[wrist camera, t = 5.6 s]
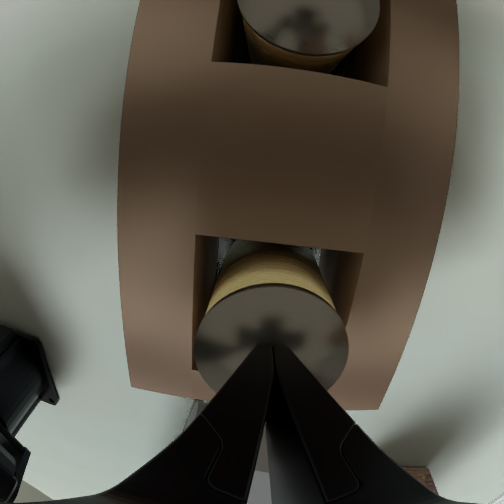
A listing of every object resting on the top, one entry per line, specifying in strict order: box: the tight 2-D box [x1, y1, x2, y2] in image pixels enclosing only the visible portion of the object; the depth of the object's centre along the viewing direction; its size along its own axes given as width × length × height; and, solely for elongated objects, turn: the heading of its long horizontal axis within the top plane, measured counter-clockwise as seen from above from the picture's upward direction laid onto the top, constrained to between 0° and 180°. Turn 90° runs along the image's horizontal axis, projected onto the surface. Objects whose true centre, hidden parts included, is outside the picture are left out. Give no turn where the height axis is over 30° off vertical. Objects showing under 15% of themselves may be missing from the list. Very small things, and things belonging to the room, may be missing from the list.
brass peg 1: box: [237, 0, 380, 74], centre depth 9 cm, size 4×4×6 cm
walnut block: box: [117, 0, 459, 410], centre depth 11 cm, size 18×10×6 cm, turn 174°
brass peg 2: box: [194, 239, 349, 393], centre depth 11 cm, size 4×4×6 cm
